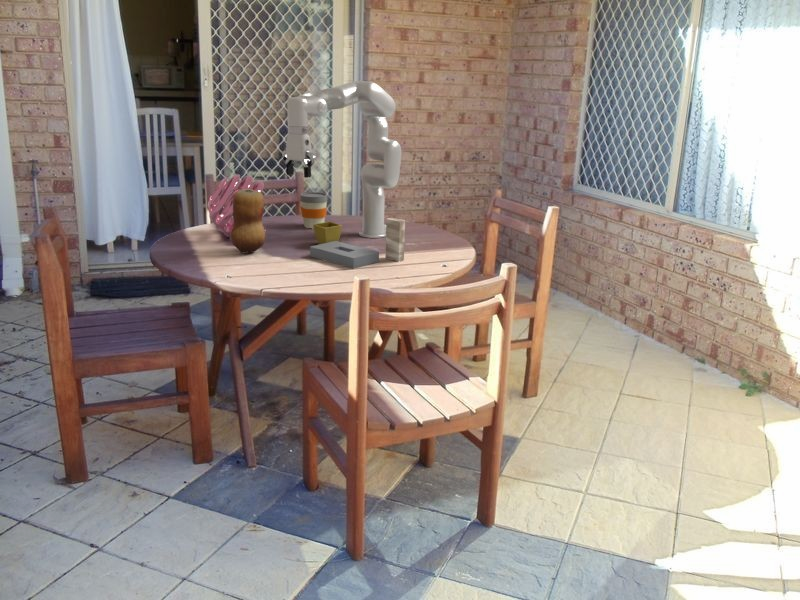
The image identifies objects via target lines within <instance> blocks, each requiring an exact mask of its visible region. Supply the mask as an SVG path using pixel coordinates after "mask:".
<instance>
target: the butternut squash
mask: <svg viewBox="0 0 800 600" xmlns="http://www.w3.org/2000/svg"><path fill="white" fill-rule="evenodd" d="M264 208H265V199H264V195H263V193H262V192H259V191H256V190H251V188H249V189H241V190H238V191H237V192H236V193H235V195H234V199H233V215H232V217H233V219H234V225H233V228H232V232H231V237H230V238H229V239H230V240H231V243H232V245H233V246H234V247H235V248H236V249H237V250H238V251H240V252H241V253H242V252H248V253H254V252H257V250H259V249H260V248H262V247H263V246H264V243H265V241H266V231H264V228H265V227H264V225H263V217H264V210H265V209H264Z"/></svg>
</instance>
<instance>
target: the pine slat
mask: <svg viewBox="0 0 800 600" xmlns="http://www.w3.org/2000/svg"><path fill="white" fill-rule="evenodd" d="M385 221H386V223H385V225H386V230H385V231H386V236H385V259H386V258H387V259H386V260H390V259H391V260H390V261H393V260H395V261H394V262H397V261H400V262H403V260H404V261H405V238H406V237H405V234H406V233H405V231H406V220H405V219H400V218H395V217H388V218H386V219H385Z"/></svg>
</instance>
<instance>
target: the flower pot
mask: <svg viewBox="0 0 800 600" xmlns="http://www.w3.org/2000/svg"><path fill="white" fill-rule="evenodd" d="M313 227H314V229H313V232H314V237H315V240H316V241H317V243H318V245H319V244H324V243H328V242H333V241H338V242H340V238H341V235H342V224H338V223H336V222H332V221H324V223H318V224H313Z"/></svg>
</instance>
